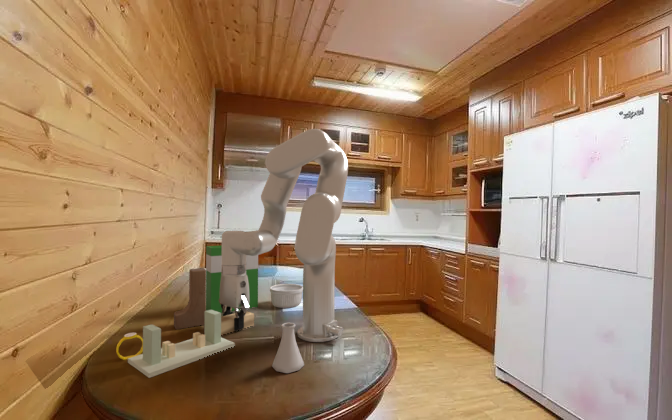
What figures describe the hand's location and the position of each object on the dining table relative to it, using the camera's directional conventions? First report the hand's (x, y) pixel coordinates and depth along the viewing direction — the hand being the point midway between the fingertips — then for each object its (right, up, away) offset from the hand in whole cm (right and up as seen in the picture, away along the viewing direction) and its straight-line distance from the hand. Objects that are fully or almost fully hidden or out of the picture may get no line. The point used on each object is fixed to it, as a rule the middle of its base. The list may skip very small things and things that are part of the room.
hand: (233, 327), depth 104 cm
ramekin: (+13, -1, +28) cm, 31 cm away
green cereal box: (-7, -1, +23) cm, 24 cm away
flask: (+21, -1, -25) cm, 33 cm away
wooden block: (-15, -1, +3) cm, 15 cm away
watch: (-19, -1, -21) cm, 28 cm away
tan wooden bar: (0, -1, 0) cm, 1 cm away
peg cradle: (-7, 0, -19) cm, 20 cm away
